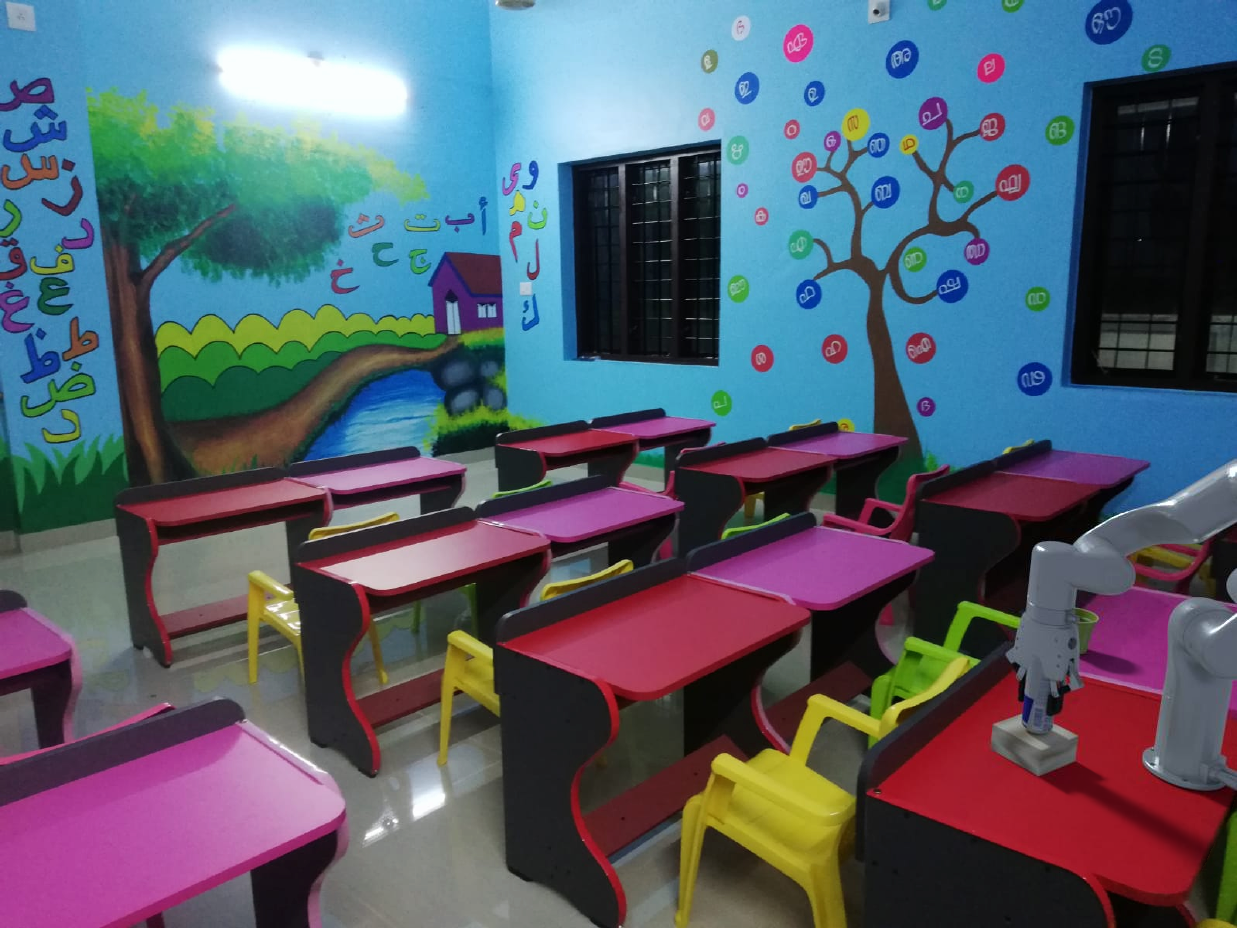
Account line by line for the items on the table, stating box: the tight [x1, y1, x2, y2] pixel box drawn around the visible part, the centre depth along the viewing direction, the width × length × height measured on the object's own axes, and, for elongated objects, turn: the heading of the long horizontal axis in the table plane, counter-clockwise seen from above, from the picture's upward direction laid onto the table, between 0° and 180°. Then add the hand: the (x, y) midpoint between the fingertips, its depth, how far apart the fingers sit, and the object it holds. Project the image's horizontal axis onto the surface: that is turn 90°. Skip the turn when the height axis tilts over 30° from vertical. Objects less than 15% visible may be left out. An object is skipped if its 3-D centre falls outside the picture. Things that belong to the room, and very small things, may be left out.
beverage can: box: [1021, 654, 1055, 734], centre depth 155 cm, size 5×5×15 cm
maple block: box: [990, 713, 1079, 777], centre depth 158 cm, size 10×10×5 cm
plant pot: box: [1074, 607, 1100, 656], centre depth 201 cm, size 9×9×9 cm
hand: (1039, 706), depth 156 cm, fingers closed on beverage can, 5 cm apart
